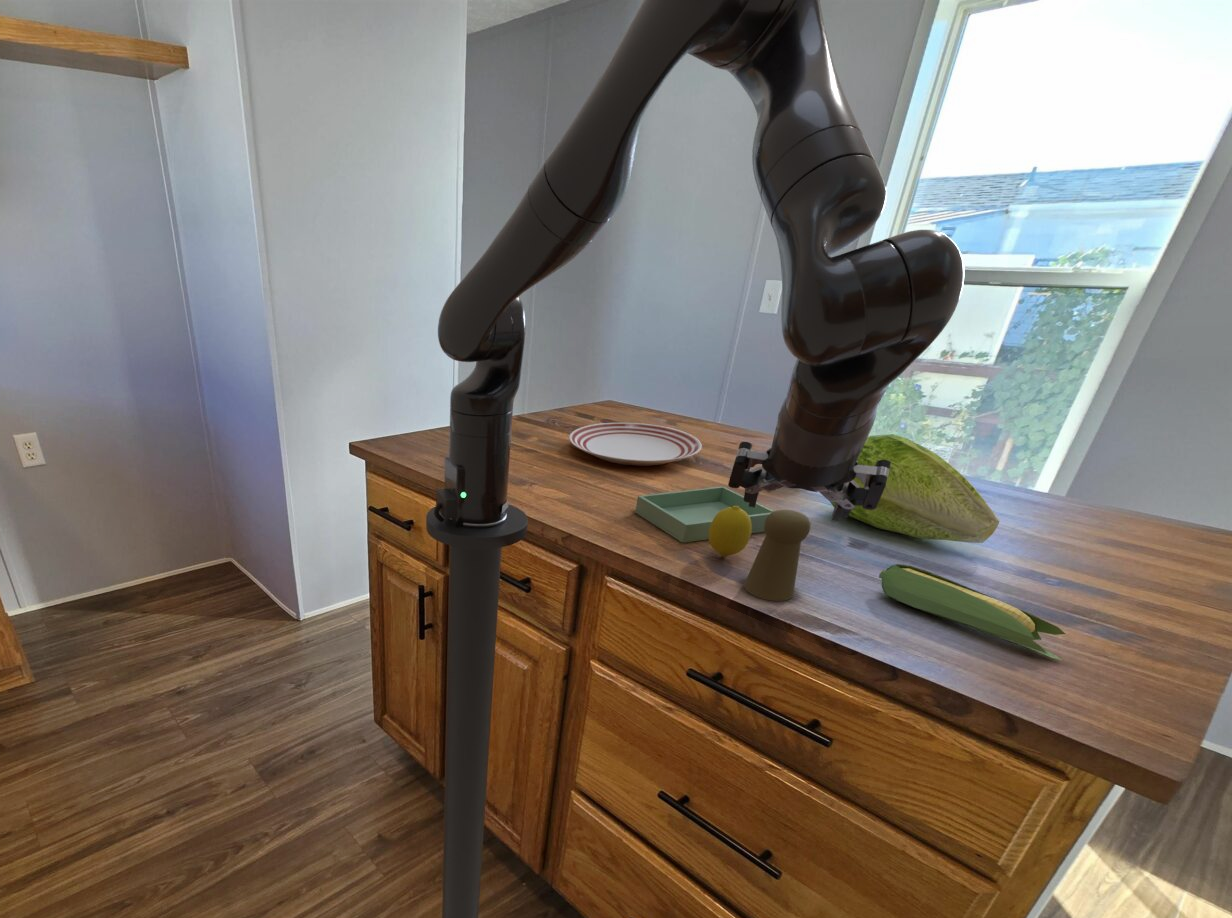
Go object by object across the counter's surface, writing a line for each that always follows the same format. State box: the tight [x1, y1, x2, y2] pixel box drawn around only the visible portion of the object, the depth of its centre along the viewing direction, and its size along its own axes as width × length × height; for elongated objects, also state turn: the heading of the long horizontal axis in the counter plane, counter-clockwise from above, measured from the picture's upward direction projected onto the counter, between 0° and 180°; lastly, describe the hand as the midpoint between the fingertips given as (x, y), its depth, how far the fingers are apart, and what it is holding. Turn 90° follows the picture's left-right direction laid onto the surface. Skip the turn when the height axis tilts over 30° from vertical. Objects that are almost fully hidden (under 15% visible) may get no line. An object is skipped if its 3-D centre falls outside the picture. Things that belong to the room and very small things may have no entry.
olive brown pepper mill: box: [743, 509, 812, 602], centre depth 85 cm, size 6×6×11 cm
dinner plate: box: [568, 422, 703, 467], centre depth 141 cm, size 28×27×3 cm
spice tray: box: [634, 485, 774, 544], centre depth 108 cm, size 17×13×3 cm
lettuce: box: [830, 433, 1000, 544], centre depth 103 cm, size 14×24×15 cm
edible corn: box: [878, 563, 1066, 661], centre depth 79 cm, size 5×20×5 cm, turn 32°
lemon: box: [708, 506, 752, 558], centre depth 94 cm, size 6×6×8 cm
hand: (794, 506), depth 75 cm, fingers open, 8 cm apart
